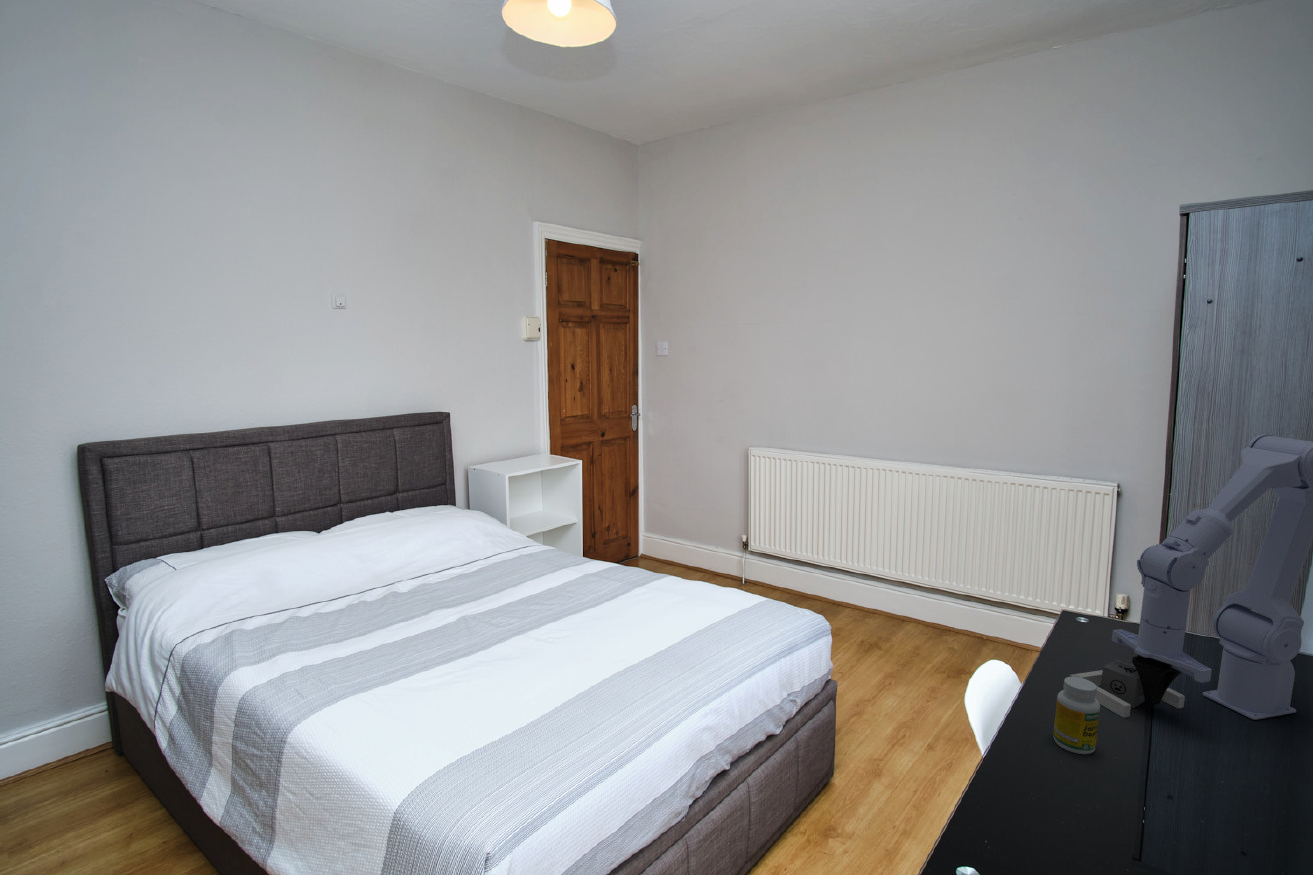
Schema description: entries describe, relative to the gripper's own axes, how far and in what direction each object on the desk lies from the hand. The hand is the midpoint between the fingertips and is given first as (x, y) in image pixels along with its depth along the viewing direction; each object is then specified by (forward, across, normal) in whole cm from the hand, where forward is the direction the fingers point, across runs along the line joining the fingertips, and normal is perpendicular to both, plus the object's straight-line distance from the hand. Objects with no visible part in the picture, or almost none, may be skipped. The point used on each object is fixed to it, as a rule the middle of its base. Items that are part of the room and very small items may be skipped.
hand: (1152, 702), depth 108 cm
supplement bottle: (+2, +4, -20) cm, 21 cm away
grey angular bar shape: (+1, -4, 0) cm, 4 cm away
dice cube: (+2, -4, 0) cm, 5 cm away
